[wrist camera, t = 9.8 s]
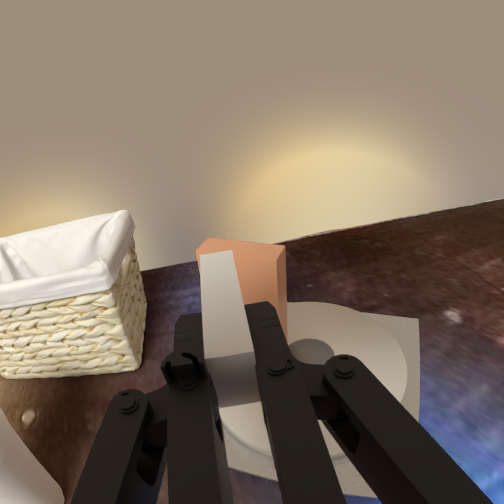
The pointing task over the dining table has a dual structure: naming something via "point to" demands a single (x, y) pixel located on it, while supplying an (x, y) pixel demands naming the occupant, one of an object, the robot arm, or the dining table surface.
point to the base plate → (347, 474)
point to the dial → (304, 335)
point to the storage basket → (71, 299)
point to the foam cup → (23, 472)
